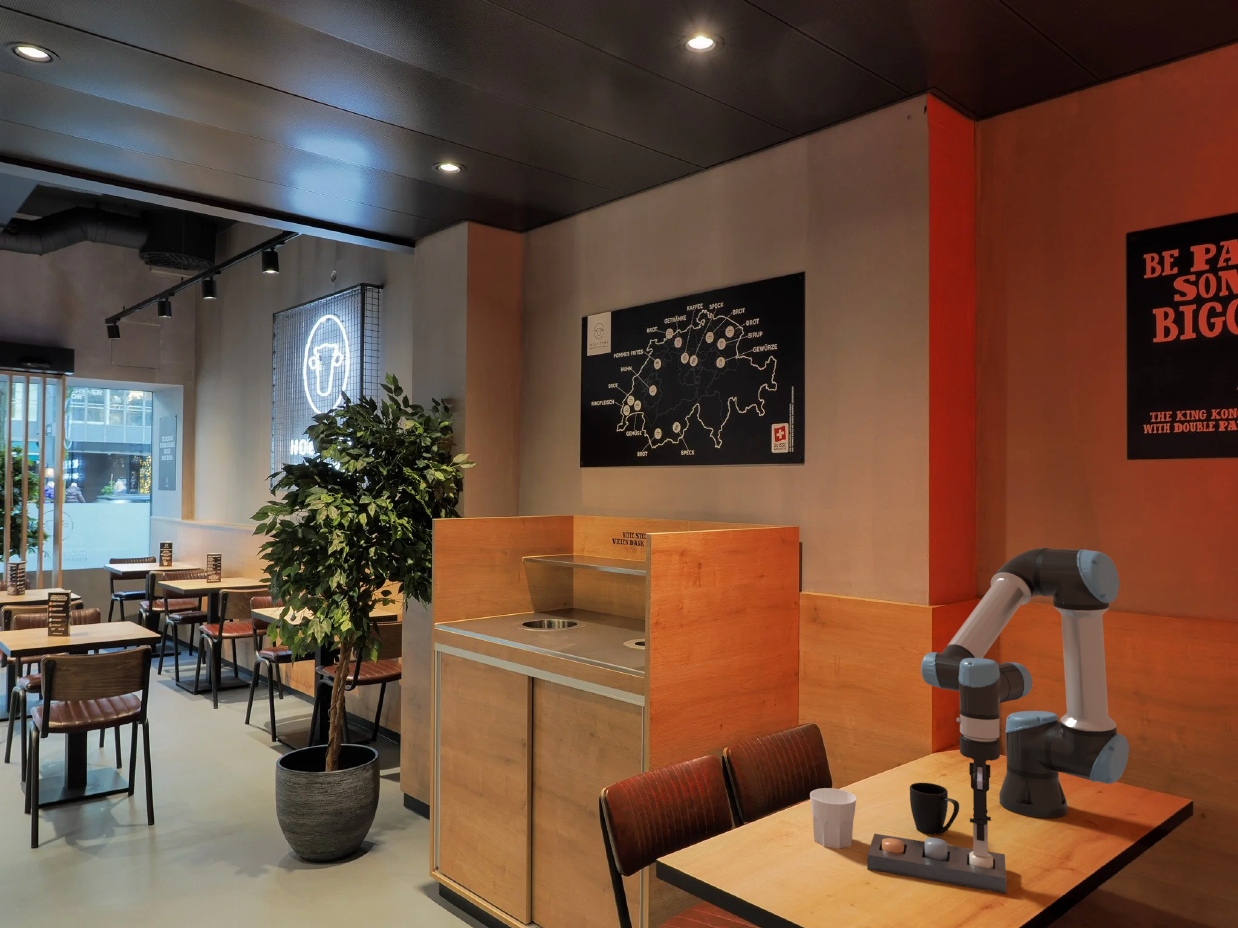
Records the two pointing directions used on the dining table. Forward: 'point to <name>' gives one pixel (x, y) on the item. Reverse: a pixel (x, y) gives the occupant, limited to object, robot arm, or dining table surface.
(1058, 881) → the dining table surface
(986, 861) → the button cream
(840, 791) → the cup
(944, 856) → the button slate
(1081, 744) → the robot arm
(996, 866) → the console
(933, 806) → the mug
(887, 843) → the button orange
